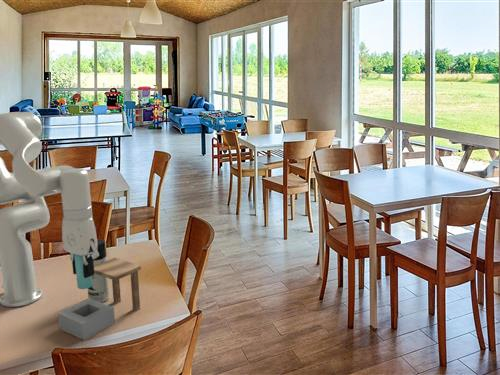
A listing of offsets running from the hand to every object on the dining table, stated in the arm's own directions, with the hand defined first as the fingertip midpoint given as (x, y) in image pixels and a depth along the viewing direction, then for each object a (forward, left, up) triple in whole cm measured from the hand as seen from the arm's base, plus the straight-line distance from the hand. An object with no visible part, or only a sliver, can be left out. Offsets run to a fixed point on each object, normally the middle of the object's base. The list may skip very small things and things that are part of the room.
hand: (83, 273), depth 130 cm
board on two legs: (0, +11, -17) cm, 20 cm away
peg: (0, 0, -4) cm, 4 cm away
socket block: (0, 0, -17) cm, 17 cm away
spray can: (-11, +13, -17) cm, 24 cm away
